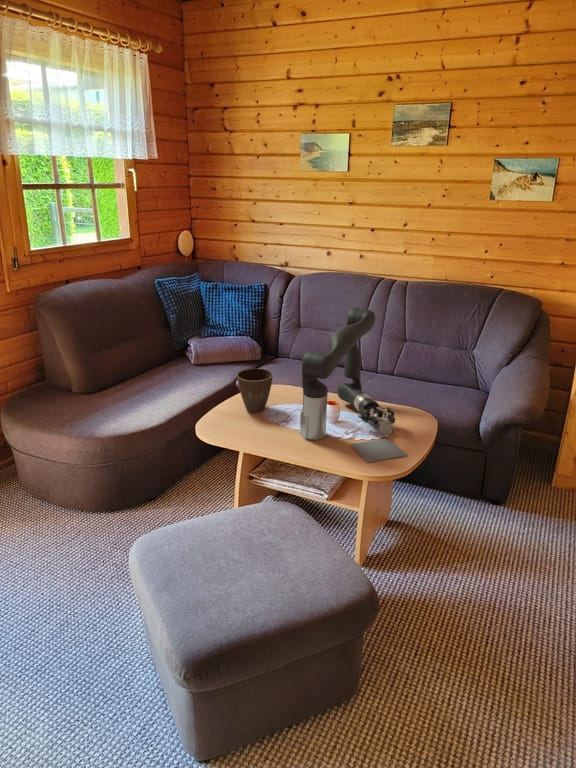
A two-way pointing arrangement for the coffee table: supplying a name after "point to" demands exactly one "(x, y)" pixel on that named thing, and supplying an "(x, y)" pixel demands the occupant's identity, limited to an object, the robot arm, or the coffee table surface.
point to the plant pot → (255, 388)
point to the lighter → (384, 425)
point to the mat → (378, 450)
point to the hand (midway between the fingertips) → (385, 422)
